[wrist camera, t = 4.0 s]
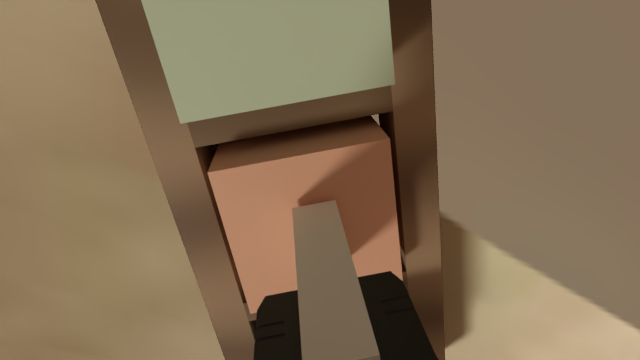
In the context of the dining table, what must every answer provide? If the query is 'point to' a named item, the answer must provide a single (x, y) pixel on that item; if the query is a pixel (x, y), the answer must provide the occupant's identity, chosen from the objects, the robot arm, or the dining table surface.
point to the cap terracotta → (305, 199)
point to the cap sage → (268, 51)
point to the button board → (198, 136)
